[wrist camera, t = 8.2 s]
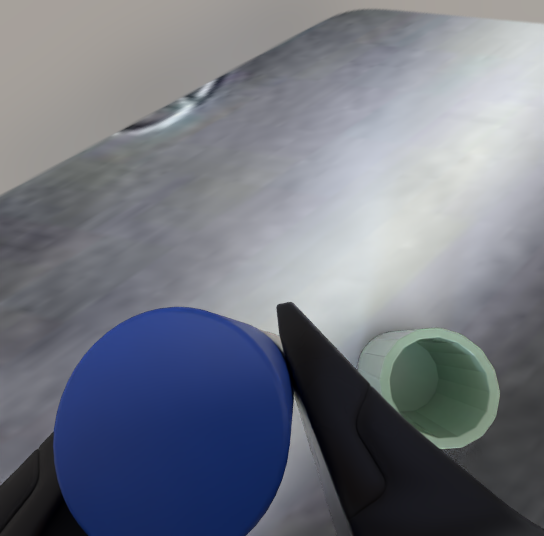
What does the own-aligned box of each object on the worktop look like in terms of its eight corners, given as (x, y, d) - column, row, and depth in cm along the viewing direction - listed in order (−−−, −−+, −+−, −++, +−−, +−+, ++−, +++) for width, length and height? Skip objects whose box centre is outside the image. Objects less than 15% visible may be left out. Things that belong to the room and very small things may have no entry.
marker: (309, 369, 15) (343, 454, 4) (259, 411, 15) (134, 637, 4) (269, 318, 16) (194, 261, 4) (220, 358, 15) (8, 406, 4)
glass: (458, 392, 18) (524, 413, 13) (384, 432, 18) (421, 470, 13) (411, 317, 19) (455, 308, 14) (342, 354, 19) (359, 360, 14)
